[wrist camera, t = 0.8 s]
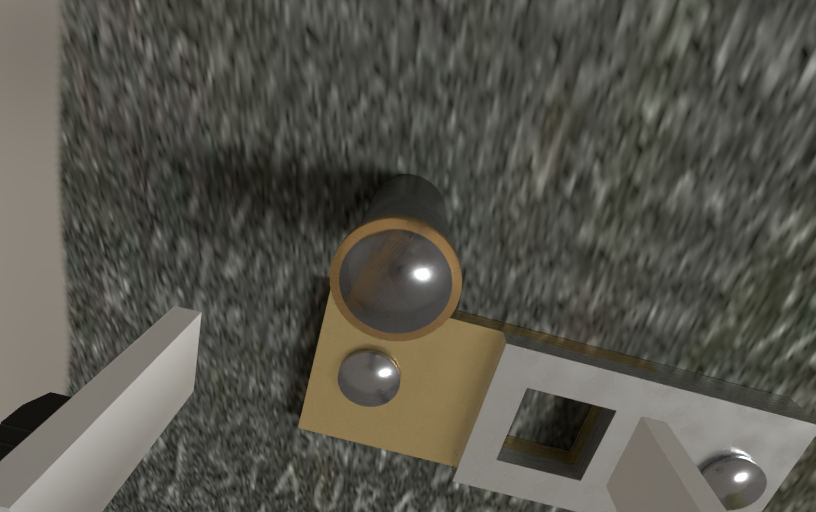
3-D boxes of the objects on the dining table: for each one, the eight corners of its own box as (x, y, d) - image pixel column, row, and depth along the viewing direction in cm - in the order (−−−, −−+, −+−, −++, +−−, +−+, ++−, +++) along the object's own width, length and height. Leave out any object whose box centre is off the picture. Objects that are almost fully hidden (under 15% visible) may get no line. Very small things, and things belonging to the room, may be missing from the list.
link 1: (335, 278, 33) (329, 290, 32) (649, 361, 35) (662, 378, 33) (303, 414, 38) (296, 433, 36) (584, 484, 39) (592, 506, 37)
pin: (376, 157, 31) (345, 203, 19) (461, 181, 31) (479, 239, 20) (356, 238, 32) (318, 323, 21) (436, 260, 33) (440, 354, 21)
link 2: (500, 321, 34) (508, 348, 31) (790, 398, 35) (828, 432, 32) (450, 451, 38) (452, 487, 35) (712, 516, 39) (739, 557, 36)
